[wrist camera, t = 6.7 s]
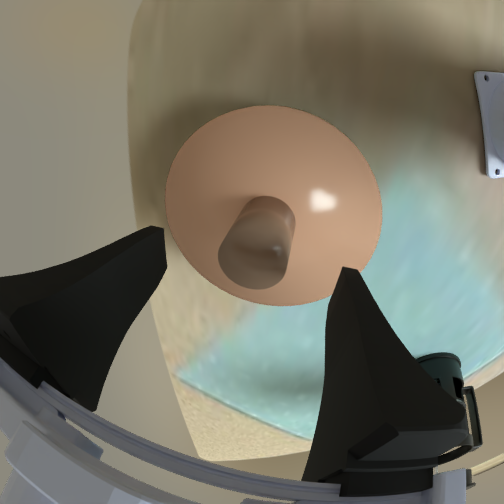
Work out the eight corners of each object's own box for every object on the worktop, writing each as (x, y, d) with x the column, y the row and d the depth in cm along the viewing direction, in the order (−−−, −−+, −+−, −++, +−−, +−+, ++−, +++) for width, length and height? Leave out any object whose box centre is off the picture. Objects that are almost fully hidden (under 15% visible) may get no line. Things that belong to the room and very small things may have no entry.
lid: (415, 157, 12) (449, 188, 9) (328, 318, 20) (324, 372, 16) (187, 83, 13) (137, 87, 9) (165, 262, 21) (133, 304, 17)
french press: (380, 393, 31) (367, 552, 13) (401, 353, 26) (399, 558, 8) (451, 389, 28) (457, 533, 10) (481, 349, 23) (504, 522, 5)
